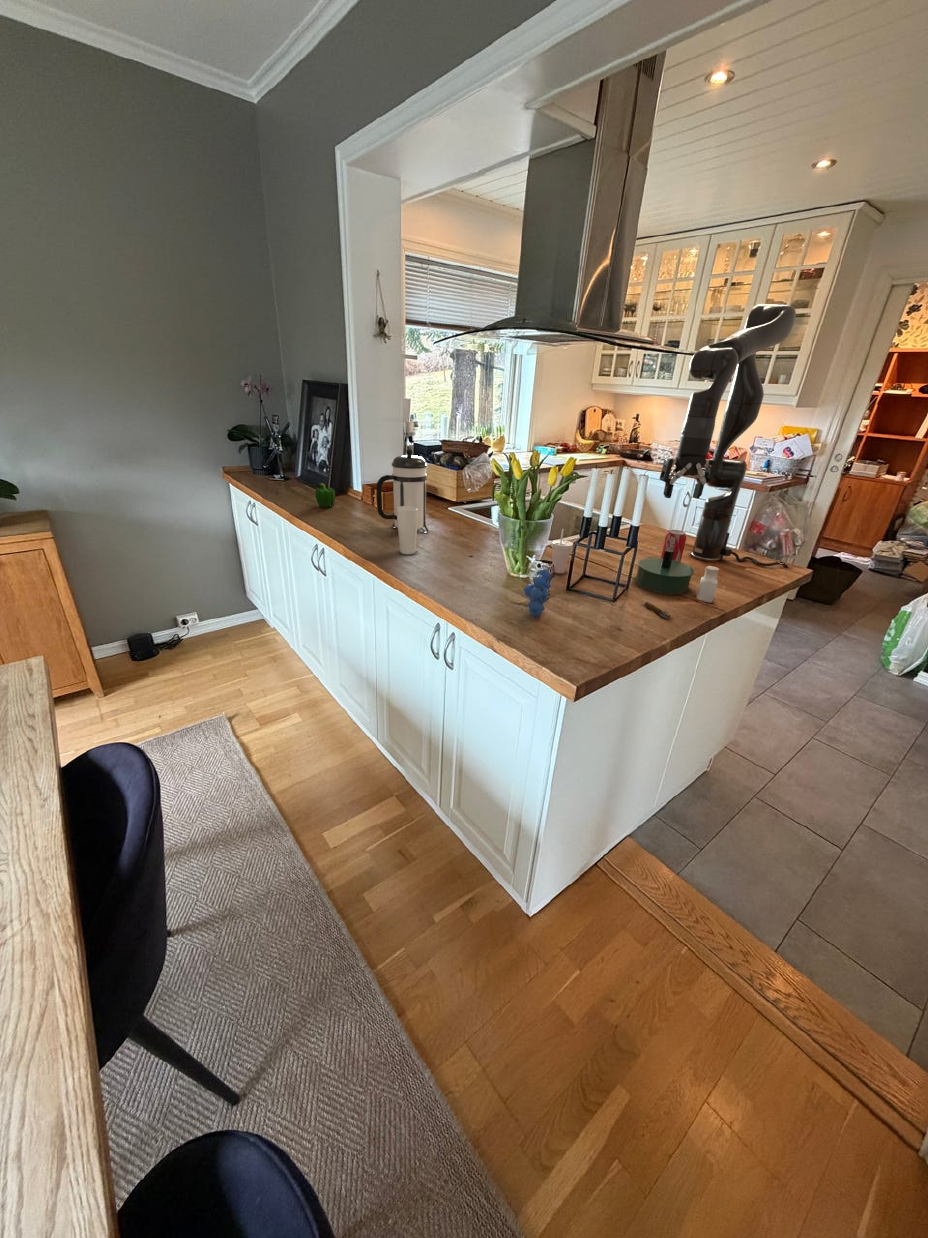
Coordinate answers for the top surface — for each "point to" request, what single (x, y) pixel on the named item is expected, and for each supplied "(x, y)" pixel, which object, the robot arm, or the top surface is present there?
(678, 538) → the beverage can
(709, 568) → the salt shaker
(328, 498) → the bell pepper
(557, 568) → the smoothie
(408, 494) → the coffee press
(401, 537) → the drinking glass
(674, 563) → the lid
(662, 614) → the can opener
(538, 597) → the grapes
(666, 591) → the pot
